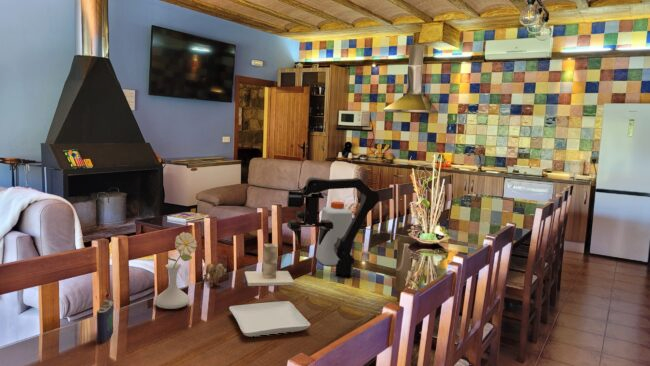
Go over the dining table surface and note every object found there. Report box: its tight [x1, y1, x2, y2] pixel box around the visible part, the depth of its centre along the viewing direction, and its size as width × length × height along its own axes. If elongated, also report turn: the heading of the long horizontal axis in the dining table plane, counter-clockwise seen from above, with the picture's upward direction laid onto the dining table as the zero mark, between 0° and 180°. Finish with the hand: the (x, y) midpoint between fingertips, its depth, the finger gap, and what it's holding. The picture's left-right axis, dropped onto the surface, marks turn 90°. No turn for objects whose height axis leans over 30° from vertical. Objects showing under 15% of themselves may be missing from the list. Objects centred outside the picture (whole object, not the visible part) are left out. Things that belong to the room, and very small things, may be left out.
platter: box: [244, 270, 295, 287], centre depth 194 cm, size 18×14×1 cm
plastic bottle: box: [315, 201, 353, 267], centre depth 224 cm, size 15×15×28 cm
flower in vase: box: [153, 231, 198, 310], centre depth 160 cm, size 13×11×25 cm
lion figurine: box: [203, 263, 227, 287], centre depth 186 cm, size 15×5×9 cm, turn 40°
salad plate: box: [228, 300, 312, 338], centre depth 152 cm, size 21×21×3 cm
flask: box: [96, 299, 114, 345], centre depth 136 cm, size 9×3×11 cm, turn 8°
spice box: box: [261, 243, 279, 279], centre depth 193 cm, size 5×5×13 cm
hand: (309, 244), depth 202 cm, fingers open, 9 cm apart
